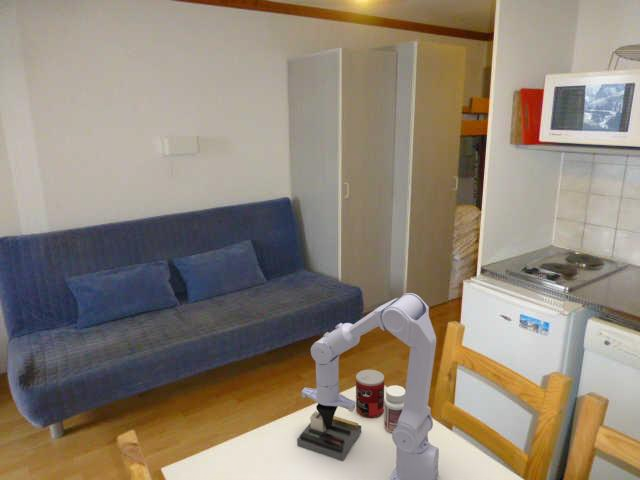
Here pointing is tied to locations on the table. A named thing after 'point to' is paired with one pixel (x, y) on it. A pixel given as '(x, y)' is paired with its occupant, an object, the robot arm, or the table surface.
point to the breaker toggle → (317, 422)
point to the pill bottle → (393, 406)
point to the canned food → (370, 393)
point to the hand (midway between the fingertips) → (328, 426)
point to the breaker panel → (331, 438)
